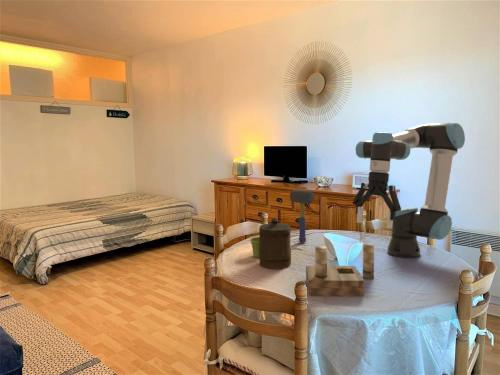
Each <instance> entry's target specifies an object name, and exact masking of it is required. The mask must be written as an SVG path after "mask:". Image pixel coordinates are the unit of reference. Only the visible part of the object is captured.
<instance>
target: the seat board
mask: <svg viewBox="0 0 500 375" xmlns="http://www.w3.org/2000/svg"><path fill="white" fill-rule="evenodd" d="M314 249H315V252H314V253H315V254H314V257H315V260H314V261H315V264H314V265H306V266H305V279H306V280H305V281H307V282H306V286H307V291H308V296H310V297H364V296H365V279H364V278H363V275H362V274H360V272H359V270H358V267H357V266H356V265H328V247H327V246H324V245H317V246H315V247H314Z"/></svg>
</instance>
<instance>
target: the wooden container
mask: <svg viewBox="0 0 500 375" xmlns="http://www.w3.org/2000/svg"><path fill="white" fill-rule="evenodd" d="M258 229H259V234H258V235H259V236H258V237H259V266H260V267H262V268H265V269H267V270H268V269H269V270H282V269H286V268H288V267H290V266H291V265H292V248H291V247H292V245H291V244H292V242H291V239H292V238H291V225H289V224H286V223H282V222H281V223H280V221H279V219H278V218H277V217H273V218H272V219H271V220H270V222H269V223H268V222H267V223H264V224H261V225H259V228H258Z"/></svg>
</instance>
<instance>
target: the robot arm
mask: <svg viewBox="0 0 500 375" xmlns="http://www.w3.org/2000/svg"><path fill="white" fill-rule="evenodd" d="M465 136H466V135H465V131H464V129H463V127H462V125H461V124H460V123H457V122H442V123H441V122H440V123H426V124H420V125H417V126H414V127H411V128H407V129H405V130H403V132H399V133H396V134H393V133H391V132H384V131H379V132H378V131H377V132H374V133H373V135H372V140H362V141H359V142H357V144H356V146H355V155H356V156H357V157H358V158H359V159H370V161H369V172H368V183H367V182H361V184H360V188H359V190H358V192H357V194H356V195H355V198H354V199H353V201H352V205H355V207H356V210H355V214H356V223H357V224H361V223H363V218H364V217H363V216H364V208H365V207H364V206H363V205H364V204H365V203H366V202H367V201H368V200H369V199H370V198H371V197H372V196H379V197H381V198H382V200H383V201H384V203H385V205H386V206H387V207H388V209H389V211H388V212H387V219H386V229H391V235H390V236H391V238H390V240H389V242H388V245H387V253H388V254H389V255H390V256H391V255H392V256H394V257H399V258H410V259H411V258H416V257H419V256H420V255H421V249H420V246H419V243H418V239H417V237H423V238H426V239H427V238H428V239H431V240H438V241H439V240H443V239H445V238H447V236H448V235H449V233H450V232H451V229H452V225H453V222H452V220H453V219H452V217H451V216H450V215H449V212H448V209H447V208H446V203H447V195H448V190H449V183H450V176H451V171H452V164H453V158H454V157H455V155H457V154H458V150H459V149H462V148H463V147H464V145H465V142H466V137H465ZM415 148H416V149H417V148H418V149H429V152H430V153H431V155H432V156H431V160H430V161H431V162H430V168H429V175H428V181H427V187H426V194H425V200H424V204H423V205H422V206H421V207H420V209H418V207H417V206H416V207H415V206H404V207H403V206H402V207H401V204H400V201H399V198H398V195H397V193H396V186H395V185H392V184H391V185H388V184H389V178H390V173H388V172H390V169H391V160H397V161H401V160H406V159H408V157H409V156H410V155H411V149H415ZM387 191H388V192H389V194H388V192H387Z"/></svg>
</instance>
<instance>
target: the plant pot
mask: <svg viewBox="0 0 500 375" xmlns="http://www.w3.org/2000/svg"><path fill="white" fill-rule="evenodd" d="M249 241H250V244H251V249H252V256H253V257H254V258H259V236H254V237H251V238H250V239H249ZM259 259H260V258H259Z"/></svg>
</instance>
